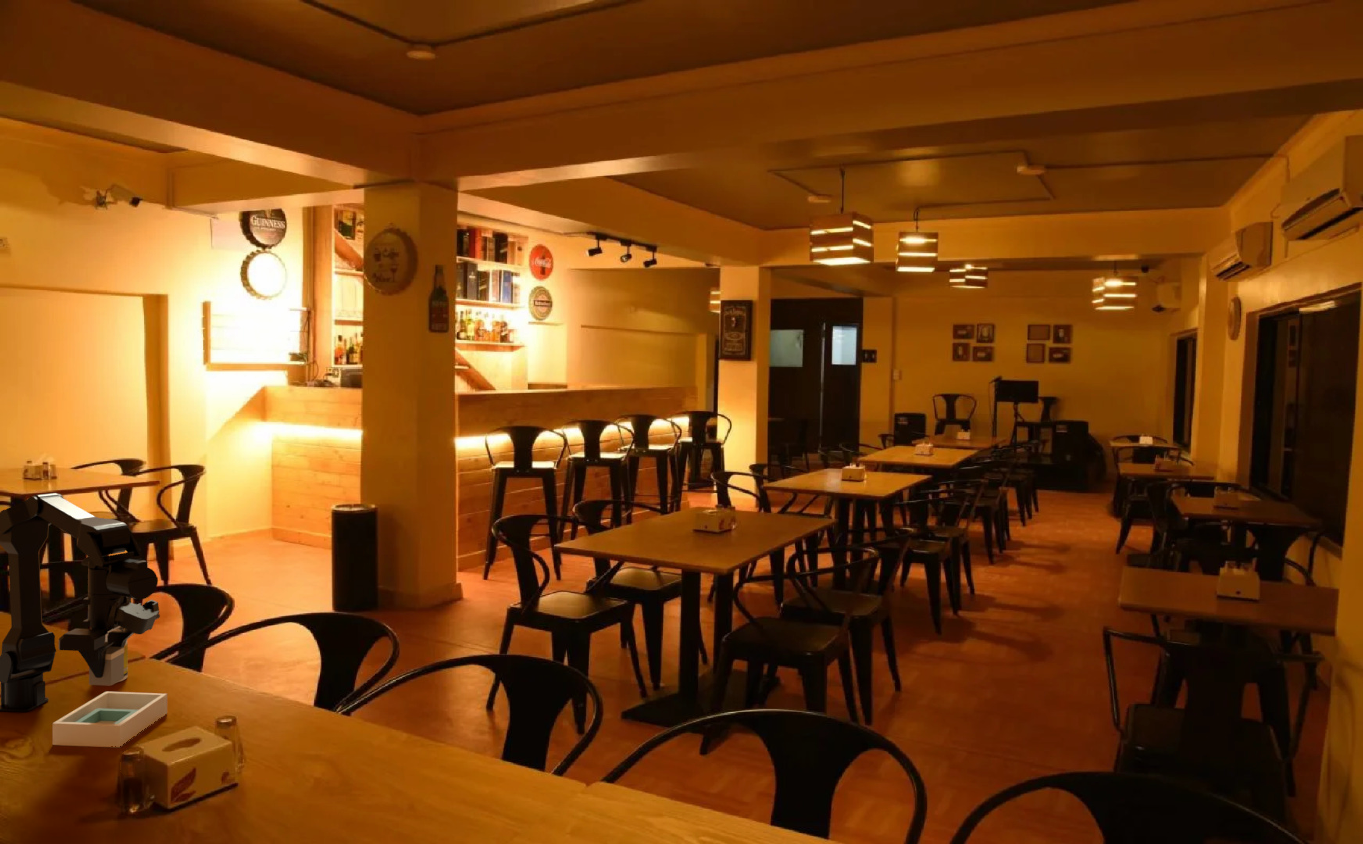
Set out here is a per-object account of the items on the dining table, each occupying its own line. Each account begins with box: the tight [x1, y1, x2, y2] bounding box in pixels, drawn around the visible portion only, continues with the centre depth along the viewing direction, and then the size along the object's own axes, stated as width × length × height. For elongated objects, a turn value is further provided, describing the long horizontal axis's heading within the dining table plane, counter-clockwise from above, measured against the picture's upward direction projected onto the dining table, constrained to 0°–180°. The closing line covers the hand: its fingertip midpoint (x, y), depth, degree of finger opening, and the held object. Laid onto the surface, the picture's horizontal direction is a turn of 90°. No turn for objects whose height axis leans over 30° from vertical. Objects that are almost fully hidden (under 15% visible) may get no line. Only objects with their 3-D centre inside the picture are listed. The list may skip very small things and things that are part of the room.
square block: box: [88, 646, 124, 687], centre depth 173 cm, size 4×4×6 cm
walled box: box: [52, 691, 168, 748], centre depth 176 cm, size 12×16×4 cm
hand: (106, 673), depth 173 cm, fingers closed on square block, 4 cm apart
